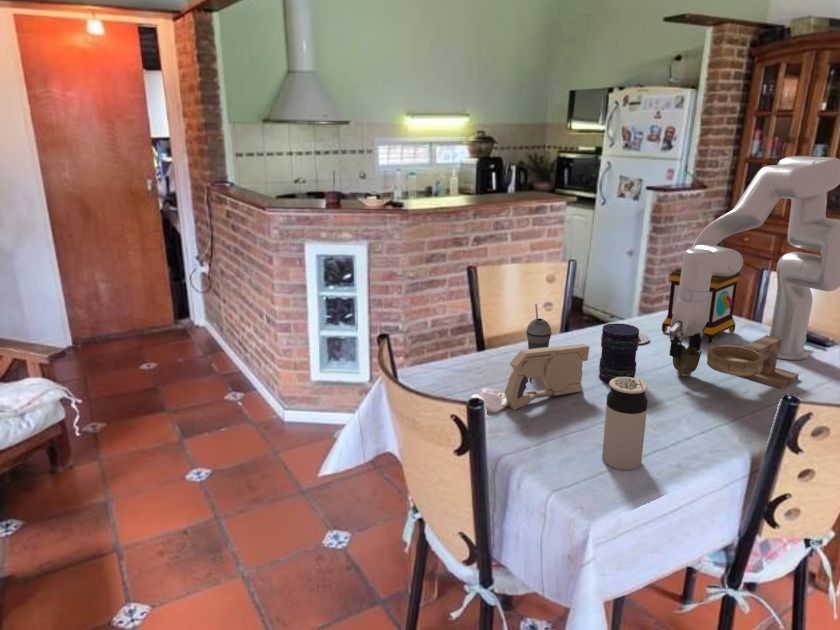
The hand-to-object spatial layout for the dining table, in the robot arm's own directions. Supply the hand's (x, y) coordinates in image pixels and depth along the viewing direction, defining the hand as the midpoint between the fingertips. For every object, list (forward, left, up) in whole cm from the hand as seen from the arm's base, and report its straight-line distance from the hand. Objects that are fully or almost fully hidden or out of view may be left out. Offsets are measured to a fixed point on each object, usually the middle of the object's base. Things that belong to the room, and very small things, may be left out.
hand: (684, 353), depth 165 cm
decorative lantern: (-39, -17, -7) cm, 43 cm away
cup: (-1, 0, -7) cm, 7 cm away
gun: (+40, -15, -7) cm, 44 cm away
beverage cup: (+27, -30, -7) cm, 41 cm away
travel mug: (+51, +16, -7) cm, 54 cm away
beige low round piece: (-16, -28, -8) cm, 33 cm away
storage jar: (+15, -11, -7) cm, 20 cm away
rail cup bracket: (-7, +14, -7) cm, 18 cm away
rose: (+54, -22, -7) cm, 59 cm away
